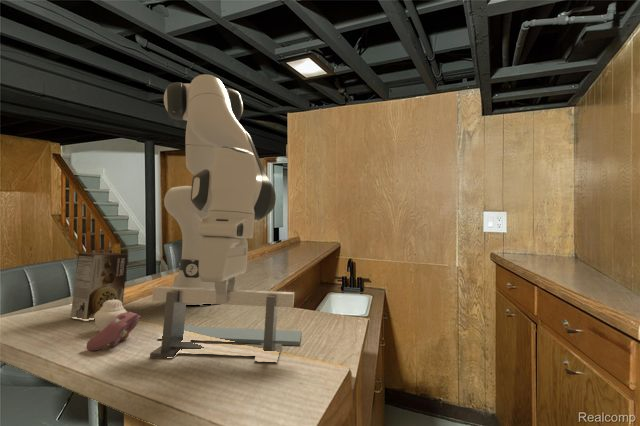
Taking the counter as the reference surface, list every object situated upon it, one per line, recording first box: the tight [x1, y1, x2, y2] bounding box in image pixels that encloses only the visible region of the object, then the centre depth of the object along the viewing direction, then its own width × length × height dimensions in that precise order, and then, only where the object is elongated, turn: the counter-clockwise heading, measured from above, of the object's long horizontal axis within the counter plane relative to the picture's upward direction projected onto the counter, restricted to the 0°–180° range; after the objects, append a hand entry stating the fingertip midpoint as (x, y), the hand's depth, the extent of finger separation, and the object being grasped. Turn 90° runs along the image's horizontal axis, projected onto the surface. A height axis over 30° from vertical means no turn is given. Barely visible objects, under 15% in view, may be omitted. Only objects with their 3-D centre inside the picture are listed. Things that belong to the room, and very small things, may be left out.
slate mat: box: [184, 325, 302, 347], centre depth 67 cm, size 8×29×1 cm, turn 91°
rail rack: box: [149, 291, 283, 359], centre depth 58 cm, size 8×22×11 cm, turn 91°
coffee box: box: [70, 252, 129, 319], centre depth 79 cm, size 9×6×16 cm
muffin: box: [94, 299, 128, 333], centre depth 67 cm, size 6×6×7 cm
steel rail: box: [151, 285, 295, 308], centre depth 59 cm, size 2×26×2 cm, turn 91°
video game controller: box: [86, 311, 142, 352], centre depth 60 cm, size 10×5×7 cm
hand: (224, 301), depth 58 cm, fingers open, 3 cm apart
